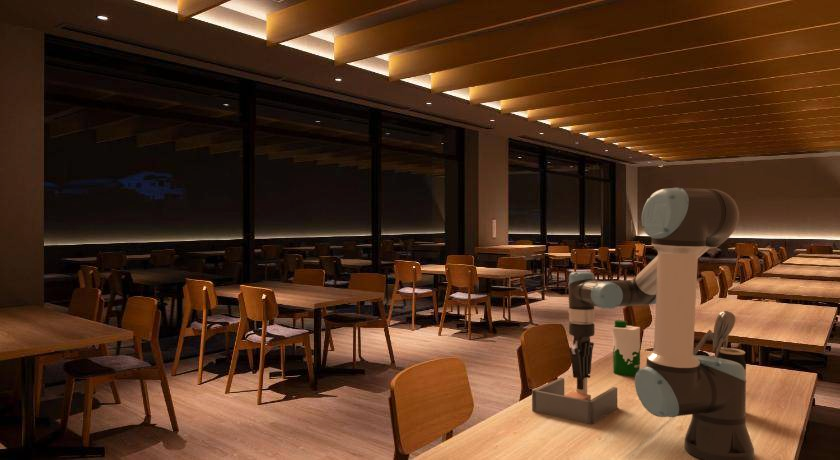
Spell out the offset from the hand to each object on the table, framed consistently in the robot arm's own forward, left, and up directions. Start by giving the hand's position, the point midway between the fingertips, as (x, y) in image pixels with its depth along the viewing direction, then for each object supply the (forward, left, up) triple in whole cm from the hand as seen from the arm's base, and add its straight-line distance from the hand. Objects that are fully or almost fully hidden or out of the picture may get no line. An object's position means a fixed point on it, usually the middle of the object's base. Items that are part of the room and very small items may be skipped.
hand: (582, 399), depth 172 cm
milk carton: (+44, +2, -2) cm, 44 cm away
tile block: (-4, 0, -2) cm, 4 cm away
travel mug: (+22, -36, -2) cm, 42 cm away
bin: (-5, 0, -2) cm, 5 cm away
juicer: (+21, -27, -1) cm, 34 cm away
